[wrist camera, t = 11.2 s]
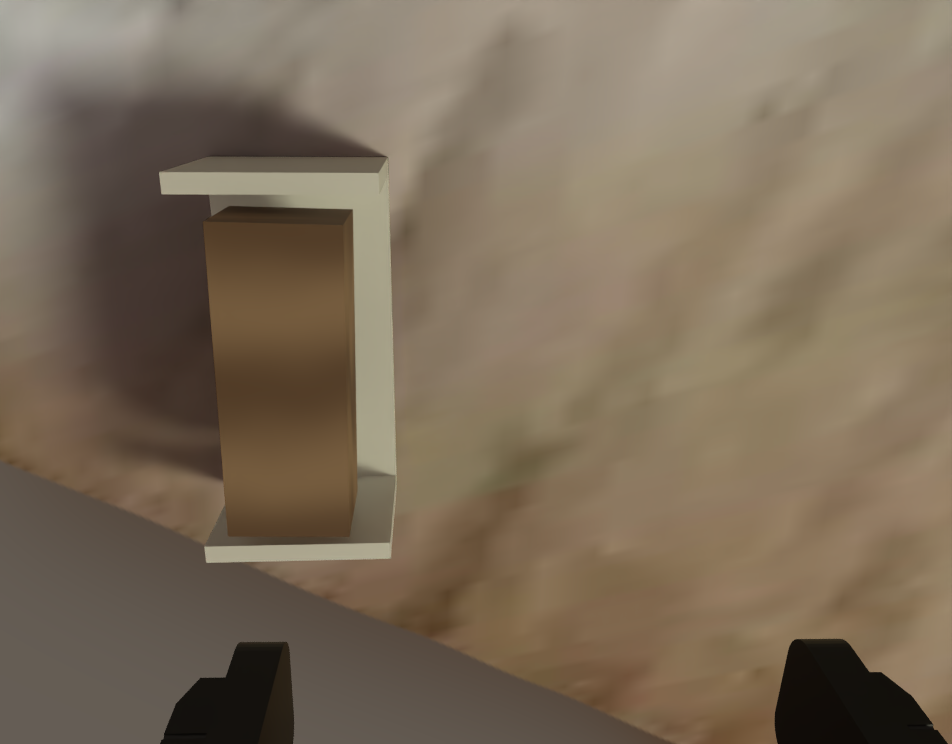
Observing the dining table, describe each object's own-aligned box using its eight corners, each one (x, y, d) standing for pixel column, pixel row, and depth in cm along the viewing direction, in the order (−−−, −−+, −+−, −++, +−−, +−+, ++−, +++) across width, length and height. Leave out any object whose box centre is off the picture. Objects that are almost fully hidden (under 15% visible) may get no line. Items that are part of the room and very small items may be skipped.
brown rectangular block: (357, 491, 37) (349, 536, 33) (248, 490, 37) (227, 536, 33) (353, 209, 33) (342, 225, 29) (229, 205, 32) (202, 221, 29)
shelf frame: (208, 156, 36) (158, 172, 29) (387, 157, 36) (378, 173, 30) (242, 486, 41) (206, 562, 35) (396, 484, 42) (390, 558, 35)
